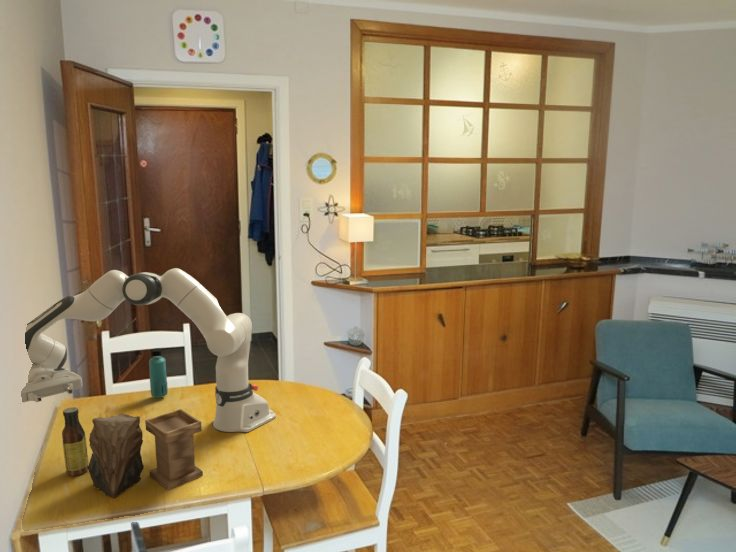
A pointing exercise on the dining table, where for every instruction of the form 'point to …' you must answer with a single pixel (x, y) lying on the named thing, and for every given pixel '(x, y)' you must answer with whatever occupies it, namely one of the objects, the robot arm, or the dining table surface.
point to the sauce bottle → (74, 443)
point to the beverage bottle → (158, 374)
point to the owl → (115, 453)
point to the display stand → (174, 448)
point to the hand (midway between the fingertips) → (55, 395)
